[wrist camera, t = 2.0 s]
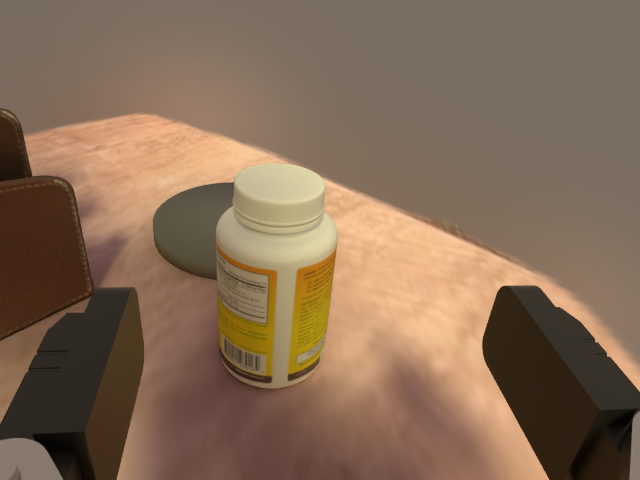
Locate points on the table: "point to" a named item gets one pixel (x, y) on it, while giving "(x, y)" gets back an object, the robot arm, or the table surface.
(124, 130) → the table surface
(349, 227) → the table surface
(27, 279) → the letter holder
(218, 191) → the coaster
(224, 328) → the supplement bottle
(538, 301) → the robot arm
